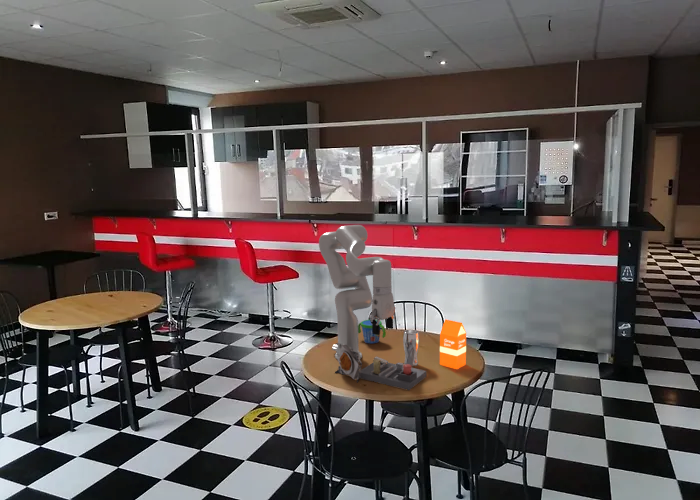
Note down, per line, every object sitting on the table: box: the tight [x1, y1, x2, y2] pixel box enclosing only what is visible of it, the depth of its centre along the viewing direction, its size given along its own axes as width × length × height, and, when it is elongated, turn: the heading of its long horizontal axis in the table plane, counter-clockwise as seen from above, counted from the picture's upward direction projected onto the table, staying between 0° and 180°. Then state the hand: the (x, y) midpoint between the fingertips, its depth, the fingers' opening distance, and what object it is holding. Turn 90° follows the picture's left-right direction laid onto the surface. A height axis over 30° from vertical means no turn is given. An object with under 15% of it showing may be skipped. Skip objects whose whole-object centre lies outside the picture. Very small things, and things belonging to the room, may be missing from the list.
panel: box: [359, 361, 427, 391], centre depth 218 cm, size 24×16×5 cm, turn 56°
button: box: [403, 364, 412, 375], centre depth 210 cm, size 3×3×4 cm
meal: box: [334, 342, 363, 383], centre depth 219 cm, size 15×4×13 cm, turn 38°
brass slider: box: [372, 358, 381, 374], centre depth 216 cm, size 3×2×6 cm, turn 56°
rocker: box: [373, 355, 389, 364], centre depth 227 cm, size 6×2×1 cm, turn 56°
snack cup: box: [358, 319, 387, 345], centre depth 263 cm, size 16×10×10 cm
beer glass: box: [402, 328, 420, 367], centre depth 232 cm, size 7×7×15 cm
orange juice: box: [439, 318, 467, 370], centre depth 230 cm, size 8×9×20 cm
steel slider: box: [395, 361, 405, 372], centre depth 218 cm, size 3×2×3 cm, turn 56°
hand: (382, 331), depth 214 cm, fingers open, 9 cm apart
